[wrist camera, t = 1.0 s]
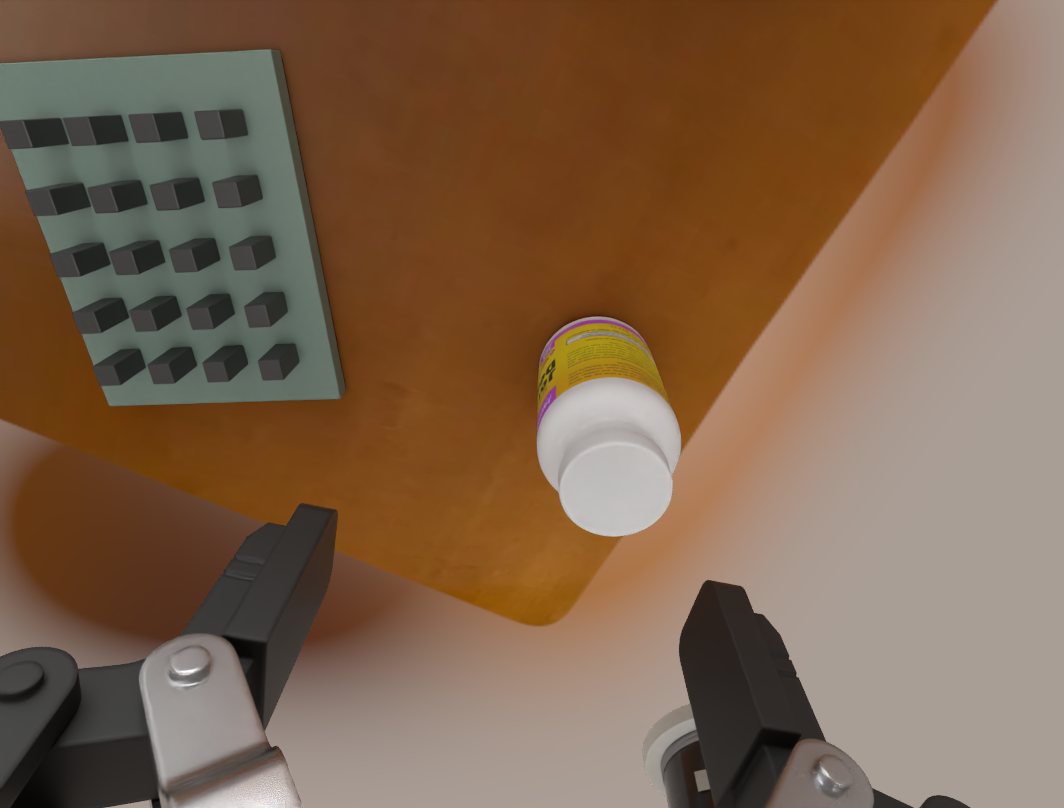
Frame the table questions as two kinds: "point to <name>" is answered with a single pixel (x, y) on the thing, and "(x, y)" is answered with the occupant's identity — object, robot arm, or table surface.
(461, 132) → the table surface
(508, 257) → the table surface
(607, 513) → the supplement bottle
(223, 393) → the board
